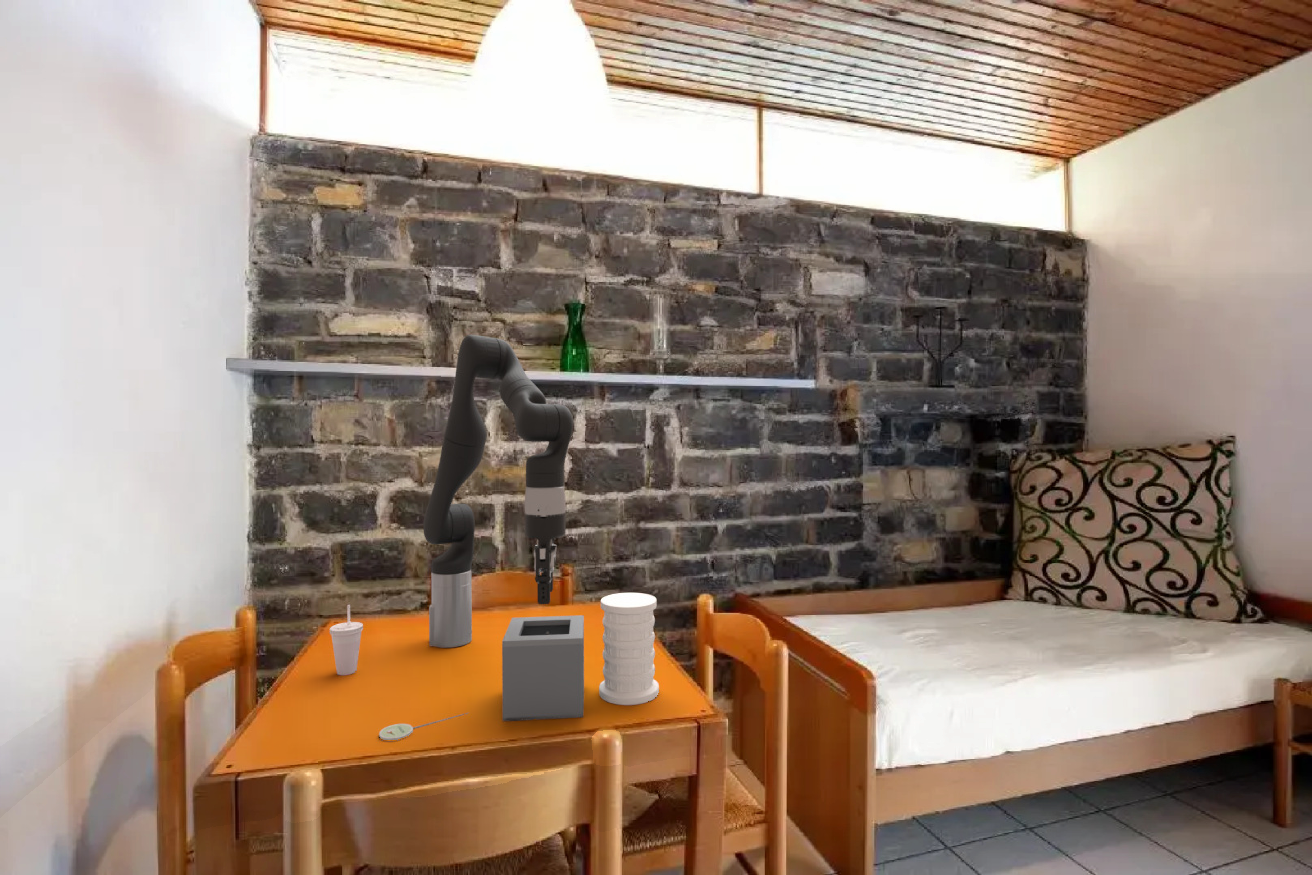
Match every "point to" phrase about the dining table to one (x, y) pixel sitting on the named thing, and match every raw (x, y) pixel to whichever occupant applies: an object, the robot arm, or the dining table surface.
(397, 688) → the dining table surface
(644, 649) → the decorative container
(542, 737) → the dining table surface
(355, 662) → the smoothie
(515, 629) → the box
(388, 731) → the sign
